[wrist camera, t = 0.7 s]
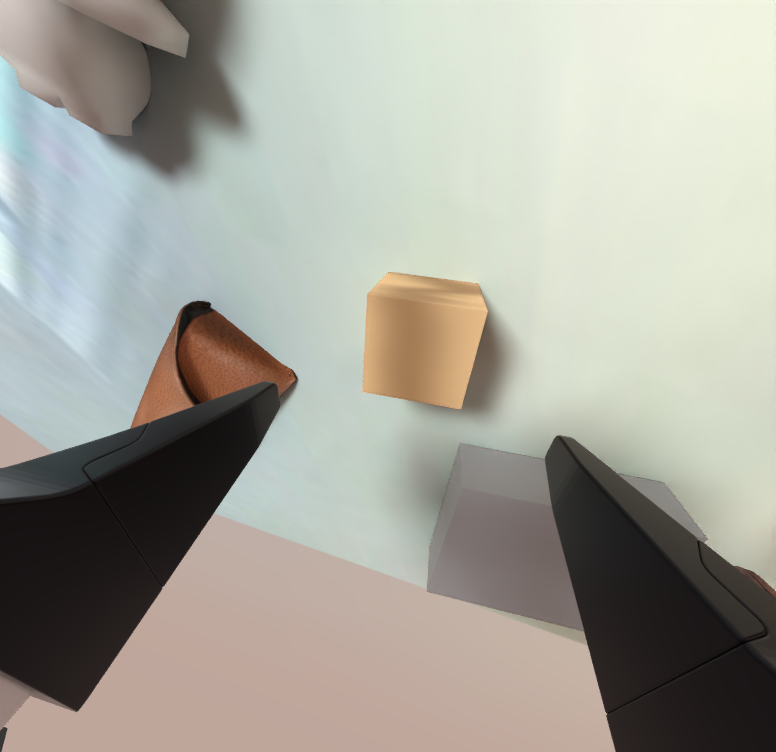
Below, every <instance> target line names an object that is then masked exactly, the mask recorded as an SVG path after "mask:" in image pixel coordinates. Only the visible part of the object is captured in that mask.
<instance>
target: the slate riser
mask: <svg viewBox="0 0 776 752" xmlns="http://www.w3.org/2000/svg"><path fill="white" fill-rule="evenodd" d="M618 475H620V476H621V477H622V478H623V479H625V480H626V481H627V482H628V483H630V484H631V485H632V486H633V487H635V488H636V489H637V490H638V491H640V492H641V493H642V494H643V495H645V496H646V497H647V498H648V499H650V500H651V501H652V502H653V503H655V504H656V505H657V506H658V507H660V508H661V509H662V510H663V511H665V512H666V513H667V514H668V515H670V516H671V517H672V518H673V519H675V520H676V521H677V522H678V523H680V524H681V525H682V526H683V527H685V528H686V529H687V530H688V531H690V532H691V533H692V534H693V535H695V536H696V537H697V540H701V541H702V542H703V543H704V542H705V541H706V540H707V539H708V538H707V537H706V536H705V535H704V533H703V532H702V531H701V529H700V528H699V527H698V526H697V524H696V523H695V522H694V520H693V519H692V518H691V517H690V515H689V514H688V513H687V511H686V510H685V509H684V508H683V506H682V505H681V504H680V502H679V501H678V500H677V499H676V497H675V496H674V495H673V493H672V492H671V491H670V490H669V488H668V487H667V486H666V484H665V483H663V482H658V481H653V480H648V479H643V478H637V477H632V476H627V475H622V474H618ZM427 592H430V593H434V594H439V595H442V596H446V597H450V598H454V599H458V600H462V601H466V602H470V603H474V604H478V605H482V606H486V607H490V608H493V609H497V610H501V611H505V612H509V613H513V614H517V615H521V616H525V617H529V618H533V619H537V620H541V621H545V622H549V623H553V624H557V625H561V626H565V627H569V628H573V629H577V630H581V631H584V629H583V625H582V621H581V617H580V614H579V610H578V606H577V602H576V598H575V595H574V591H573V587H572V583H571V579H570V576H569V572H568V568H567V564H566V561H565V557H564V553H563V549H562V545H561V542H560V538H559V534H558V530H557V526H556V523H555V519H554V515H553V511H552V506H551V500H550V493H549V486H548V479H547V472H546V465H545V460H544V459H539V458H534V457H528V456H523V455H518V454H513V453H508V452H503V451H497V450H492V449H487V448H482V447H477V446H471V445H466V444H461V443H460V445H459V449H458V452H457V456H456V459H455V462H454V466H453V469H452V472H451V476H450V479H449V483H448V486H447V489H446V493H445V496H444V499H443V503H442V506H441V510H440V513H439V516H438V520H437V523H436V527H435V530H434V533H433V537H432V540H431V543H430V549H429V566H428V583H427Z"/></svg>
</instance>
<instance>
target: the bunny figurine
mask: <svg viewBox="0 0 776 752" xmlns="http://www.w3.org/2000/svg"><path fill="white" fill-rule="evenodd" d="M189 35H190V34H189V33H188V32H187V31H186V30H185V29H184V27H183V26H182V25H181V24H180V23H179V22H178V20H177V19H176V18H175V17H174V16H173V15H172V13H171V12H170V11H169V10H168V9H167V8H166V6H165V5H164V4H163V3H162V2H161V1H160V0H0V55H1V56H2V57H3V58H4V59H5V60H6V61H7V62H8V63H9V64H10V65H11V66H12V67H13V68H14V69H15V72H16V75H17V78H18V81H19V85H20V88H22V89H24V90H26V91H27V92H29V93H31V94H33V95H35V96H36V97H38V98H40V99H42V100H43V101H45V102H47V103H49V104H50V105H52V106H54V107H59V108H66V110H67V112H68V114H69V115H70V116H72V117H73V118H75V119H77V120H79V121H81V122H82V123H84V124H86V125H88V126H89V127H91V128H93V129H95V130H96V131H98V132H100V133H102V134H109V135H123V136H133V131H132V121H133V120H134V119H135V118H136V117H137V116H138V115H139V113H140V112H141V111H142V110H143V109H144V108H145V107H146V105H147V104H148V101H149V98H150V94H151V76H150V67H149V59H148V55H147V53H146V51H145V49H144V47H143V44H142V42H143V43H145V44H148V45H151V46H153V47H156V48H159V49H162V50H165V51H167V52H170V53H173V54H176V55H179V56H181V57H184V58H186V54H187V47H188V41H189Z"/></svg>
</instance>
